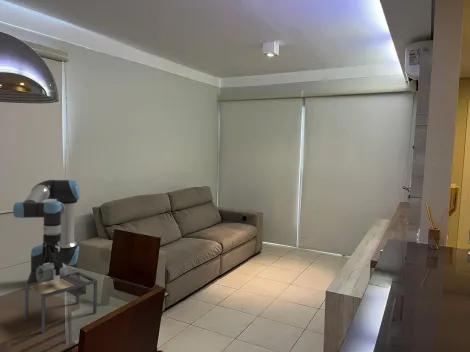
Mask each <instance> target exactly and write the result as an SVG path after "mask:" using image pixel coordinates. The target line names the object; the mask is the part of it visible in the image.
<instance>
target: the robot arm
mask: <svg viewBox="0 0 470 352" xmlns="http://www.w3.org/2000/svg"><path fill="white" fill-rule="evenodd" d="M80 199H81V190H80V184H79V182H78V181H77V180H71V179H48V180H44V181H41V182H39V183H37V184H36V185H34V186H33V187H32V188H31V190H30V194H29V195H27V197H26V199H25V200H24V201H23V202H22V201H20V202H19V201H18V202H15V203H14V204H13V207H12V208H13V209H12V213H13V217H15V218H18V219H19V218H20V219H24V218H25V219H28V218H33V219H34V218H39V219H40V218H43V227H42V230H43V235H42V237H43V238H42V241H43V242H42V244H38V245H37V246H34V247H33V248H32V249H31V250H30V272H29V276H28V277H27V284H26V285H28V284H32V283H35V282H38V281H37V279H36V269H37V268H38V267H39V266H42V265H46V264H50V263H54V268H53V282H58V281H60V268H63V263H64V264H65V265H66V266H75V265H76V264H77V261H78V257H79V251H80V246H79V245H77V244H78V243H77V241H75V212H76V211H75V208H76V207H75V205H76V204H77V203H78V200H80ZM46 200H49V201H46Z"/></svg>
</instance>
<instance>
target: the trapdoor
mask: <svg viewBox="0 0 470 352" xmlns="http://www.w3.org/2000/svg"><path fill="white" fill-rule="evenodd" d="M86 282H87V281H85V280H82V279H79V278H77V277H76V275H75V276H72V275H70V276H66V277H64V278H61V279H60V281H58V282H53V280H51V281H47V282H43V283H39V284H35V285H31V286H30V287H29V289H32V290H33V291H35V292H37V293H38V294H40V295H43V294H47V293H50V292H54V291H58V290H61V289H65V288H68V287H72V286H75V285H79V284H82V283H86ZM66 292H67V293H68V294H70V295H72V296H74V297H76V296H79V297H80V296H83V295H86V294H87V286H83V287H80V288H77V289H73V290H70V291H66Z"/></svg>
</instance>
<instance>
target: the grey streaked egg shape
mask: <svg viewBox="0 0 470 352" xmlns="http://www.w3.org/2000/svg"><path fill="white" fill-rule="evenodd" d="M53 268H54V263H50V264H46V265H42V266H39V267H38V268H37V269H36V279H37V281H38V282H39V283H43V282H46V281H50V280H53ZM67 272H68V271H67V265H65V264H64V263H63V268H60V279H61V278H64V277H65V276H66V275H67V274H68V273H67Z"/></svg>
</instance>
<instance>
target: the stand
mask: <svg viewBox="0 0 470 352" xmlns="http://www.w3.org/2000/svg"><path fill="white" fill-rule="evenodd" d="M70 275H72V276H75V277H77V278H79V279H80V277H82V278H83V279H85V280H88V281H85V282H86V283H82V284H79V285H75V286H72V287H68V288H65V289H61V290H58V291H54V292H50V293H47V294H43V295H41V294H40V295H41V300H40V301H41V304H40V305H41V307H40V308H41V309H40V311H41V313H40V318H41V319H40V333H41V334H43V333H44V334H45V332H46V298H49V297H52V296H55V295H59V294H62V293H66V292H67V291H70V290H73V289H77V288H80V287H83V286H86V287H87V286H90V285H93V301H92V303H93V304H92V313H93V314H94V315H95V314H97V307H98V305H97V304H98V279H97V278H93V277H91V276H90V275H87V274H85V273H83V272H80V271H76V272H72V273H67V274H66V276H70ZM66 276H65V277H66ZM50 281H51V280H50ZM46 282H47V281H46ZM35 284H39V282H35V283H32V284H28V285H27V284H25V286H24V321H25V322H27V321H29V308H30V307H29V303H30V302H29V299H30V297H29V295H30V293H29V292H30V291H29V289H30V286H31V285H35ZM75 304H76V305H78V304H80V296H75Z"/></svg>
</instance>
